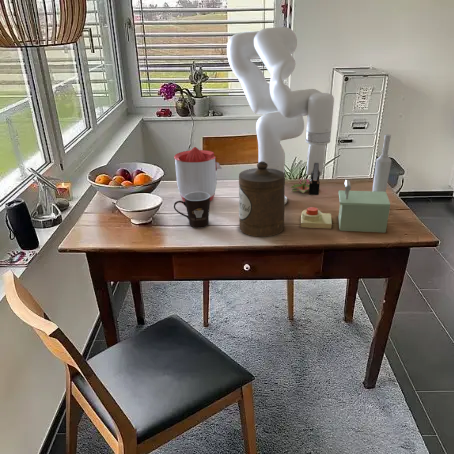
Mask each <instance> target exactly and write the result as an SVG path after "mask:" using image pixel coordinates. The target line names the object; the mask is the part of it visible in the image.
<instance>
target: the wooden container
mask: <svg viewBox="0 0 454 454" xmlns="http://www.w3.org/2000/svg"><path fill="white" fill-rule="evenodd" d="M267 167H268V165H267V163H265V162H263V161H261V162H259V161H258V163H257V164H256V168H248V169H244V170H242V171H241V172H240V173H238V222H239V224H238V225H239V226H238V227H239V230H240V232H242V233H243V234H244V235H247V236H251V237H261V238H262V237H271V236H276V235H278V234H280V233H282V232H283V230H284V228H285V227H284V226H285V204H284V196H286V195H285V191H286V190H285V188H286V187H285V185H286V173H285V172H284V173H283V172H282V171H280V170H276V169H270V168H267Z"/></svg>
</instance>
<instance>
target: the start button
mask: <svg viewBox="0 0 454 454" xmlns="http://www.w3.org/2000/svg"><path fill="white" fill-rule="evenodd" d="M306 210H307V214H308V215H317V214H318V210H319V208H318V207H315V206H309V207H307V208H306Z"/></svg>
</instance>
